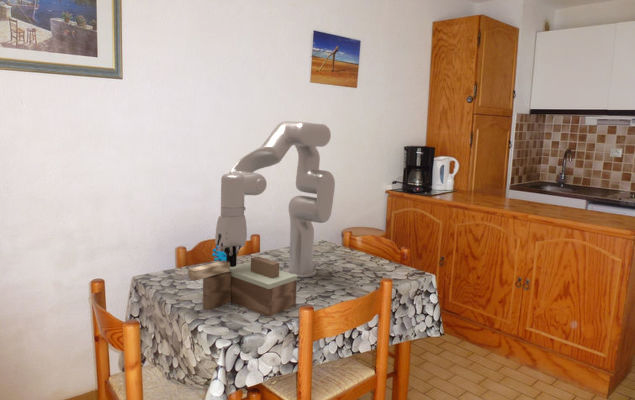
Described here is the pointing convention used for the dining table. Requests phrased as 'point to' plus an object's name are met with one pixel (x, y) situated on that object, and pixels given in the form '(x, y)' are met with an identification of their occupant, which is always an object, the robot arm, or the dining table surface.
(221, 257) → the blue spiky virus toy
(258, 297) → the brown wooden box
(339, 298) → the dining table surface
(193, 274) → the bar
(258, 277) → the lid
